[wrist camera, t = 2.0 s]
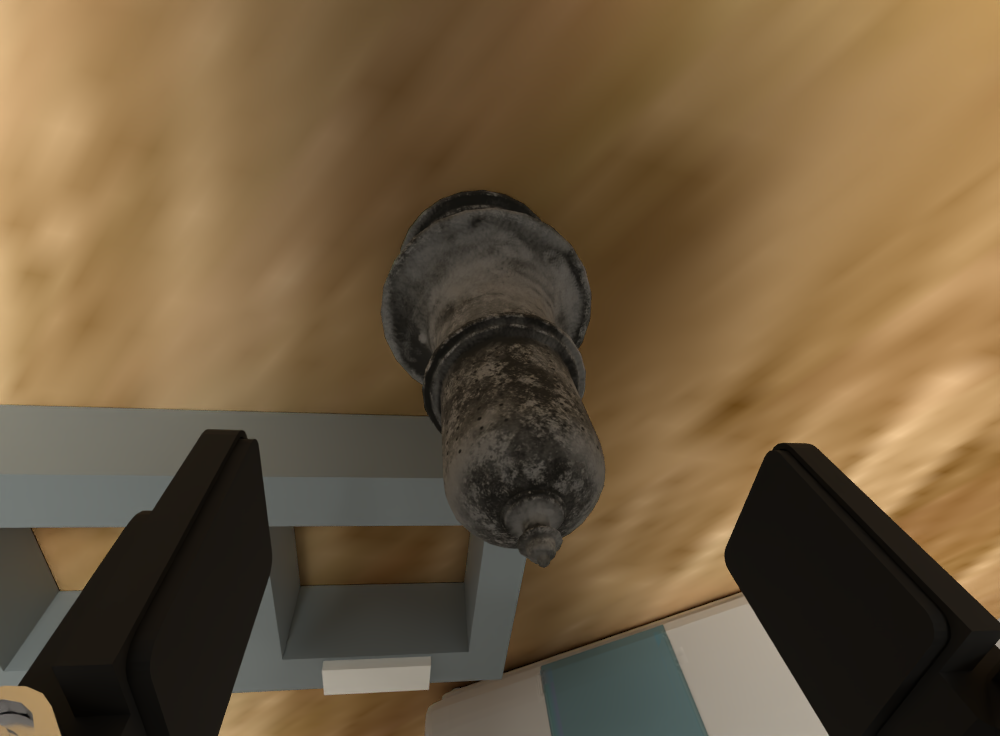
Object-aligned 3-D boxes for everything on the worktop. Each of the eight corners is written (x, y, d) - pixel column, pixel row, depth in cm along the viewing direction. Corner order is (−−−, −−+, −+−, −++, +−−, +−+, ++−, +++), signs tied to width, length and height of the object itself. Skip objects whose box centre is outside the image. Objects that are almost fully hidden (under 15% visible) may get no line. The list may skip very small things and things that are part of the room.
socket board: (-84, 402, 18) (-202, 482, 15) (526, 419, 21) (544, 487, 18) (31, 624, 24) (-34, 716, 20) (493, 610, 27) (502, 688, 24)
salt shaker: (592, 214, 17) (830, 448, 7) (527, 364, 20) (632, 695, 10) (415, 153, 16) (390, 336, 5) (371, 324, 18) (296, 667, 8)
